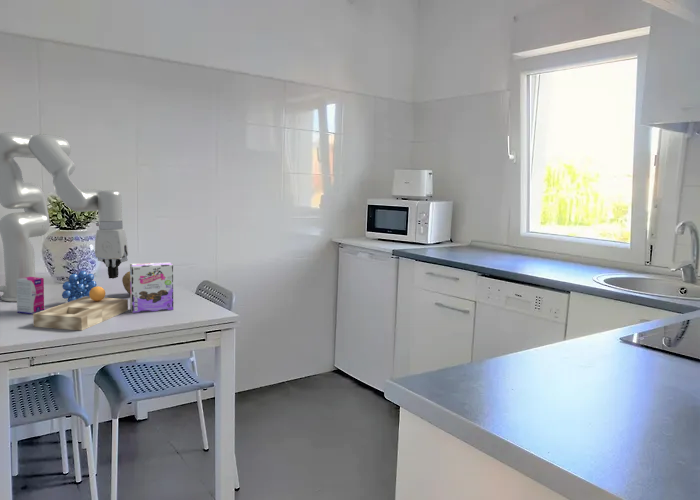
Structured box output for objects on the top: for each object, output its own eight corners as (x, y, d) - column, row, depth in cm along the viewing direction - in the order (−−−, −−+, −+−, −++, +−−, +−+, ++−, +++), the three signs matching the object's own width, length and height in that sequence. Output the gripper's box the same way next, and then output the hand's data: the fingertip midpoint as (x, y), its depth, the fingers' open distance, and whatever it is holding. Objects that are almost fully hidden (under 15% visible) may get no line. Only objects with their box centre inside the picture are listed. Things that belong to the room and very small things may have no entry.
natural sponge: (143, 291, 212) (142, 267, 211) (151, 296, 206) (150, 270, 205) (119, 294, 207) (119, 269, 205) (127, 298, 200) (126, 273, 199)
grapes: (92, 299, 198) (91, 267, 196) (99, 302, 193) (98, 270, 191) (58, 303, 190) (57, 270, 188) (64, 307, 185) (63, 273, 183)
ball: (86, 302, 177) (85, 287, 176) (95, 298, 182) (94, 284, 181) (99, 303, 176) (99, 288, 175) (108, 299, 181) (108, 285, 180)
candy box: (131, 313, 180) (130, 265, 178) (130, 309, 185) (129, 263, 183) (173, 310, 186) (173, 264, 184) (171, 306, 191) (170, 261, 189)
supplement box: (32, 314, 174) (30, 280, 172) (16, 313, 175) (15, 279, 174) (45, 310, 180) (44, 277, 178) (30, 309, 181) (28, 276, 179)
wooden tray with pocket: (33, 326, 161) (33, 313, 160) (85, 307, 185) (85, 296, 185) (81, 330, 159) (81, 317, 158) (128, 310, 183) (127, 299, 183)
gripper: (84, 226, 181) (87, 278, 184) (124, 227, 179) (127, 280, 181) (97, 224, 189) (100, 275, 191) (136, 225, 186) (138, 276, 189)
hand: (113, 277), depth 186 cm, fingers closed
